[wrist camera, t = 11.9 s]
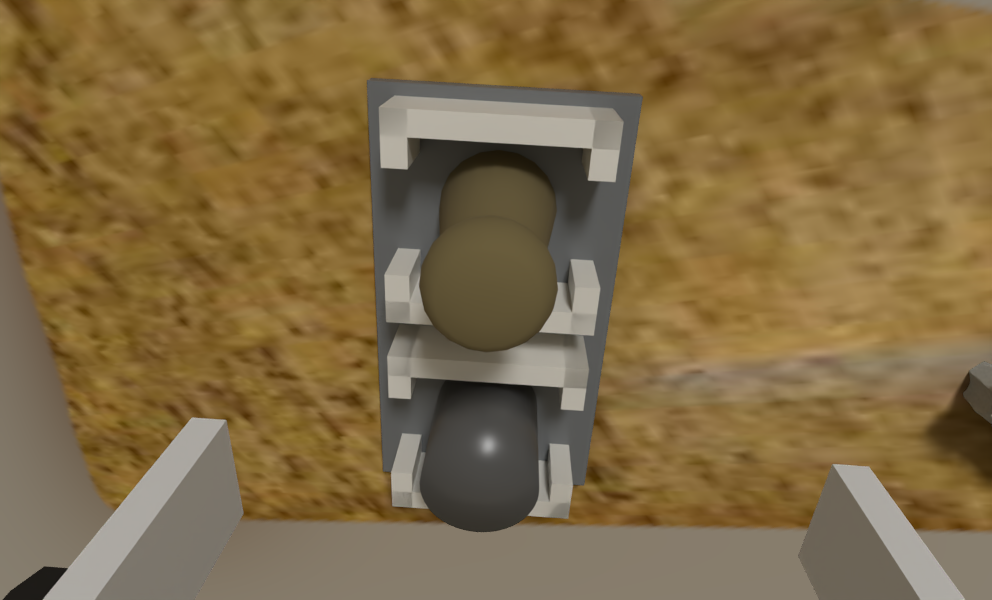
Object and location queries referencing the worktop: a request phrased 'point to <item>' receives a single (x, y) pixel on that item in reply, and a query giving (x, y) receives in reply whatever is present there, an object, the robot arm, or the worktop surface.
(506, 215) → the cork
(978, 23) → the worktop surface
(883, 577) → the robot arm
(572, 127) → the socket board
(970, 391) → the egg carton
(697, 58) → the worktop surface
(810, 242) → the worktop surface
